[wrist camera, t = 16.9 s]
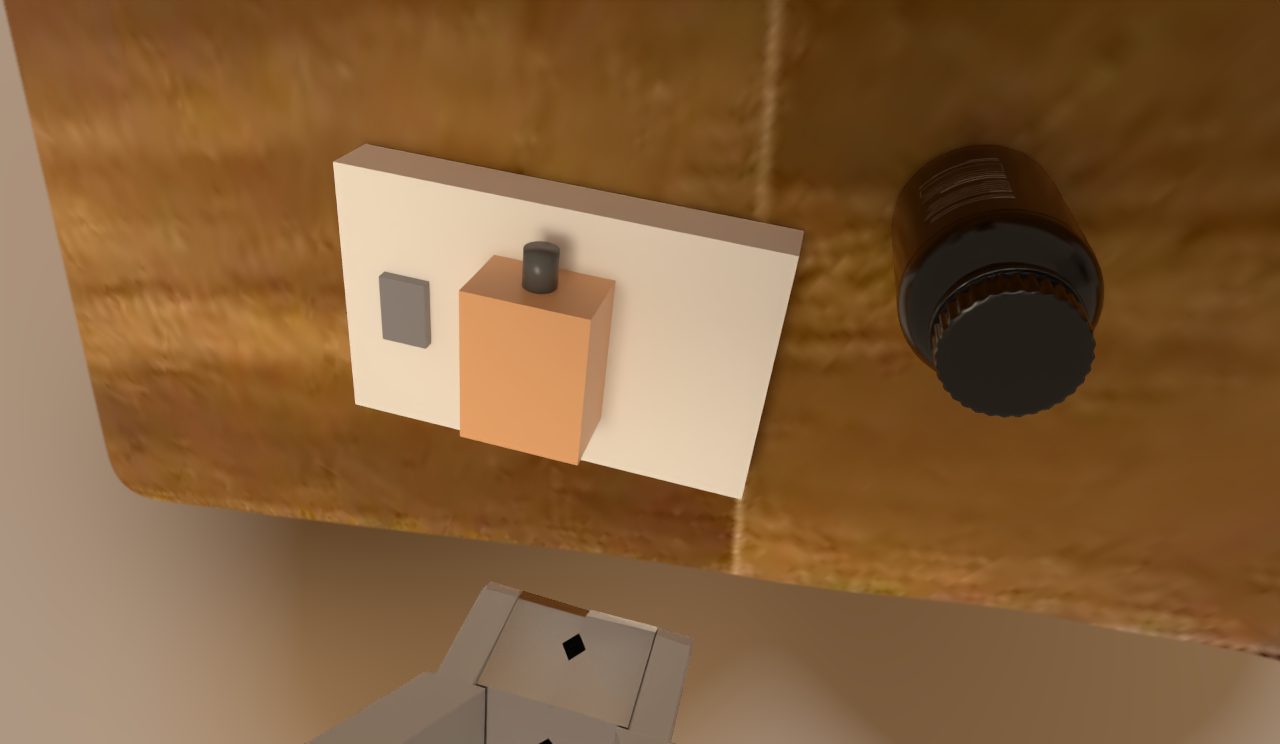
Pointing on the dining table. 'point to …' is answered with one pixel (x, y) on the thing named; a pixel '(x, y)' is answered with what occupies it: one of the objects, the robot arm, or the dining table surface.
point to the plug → (533, 354)
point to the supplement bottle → (995, 281)
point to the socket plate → (589, 244)
